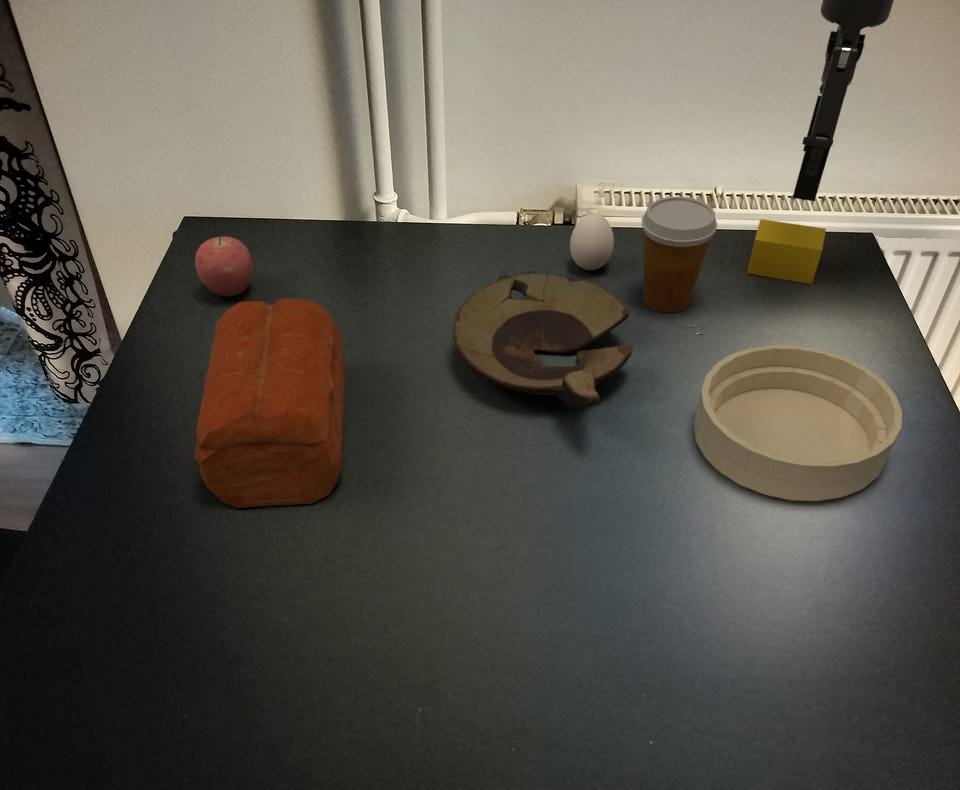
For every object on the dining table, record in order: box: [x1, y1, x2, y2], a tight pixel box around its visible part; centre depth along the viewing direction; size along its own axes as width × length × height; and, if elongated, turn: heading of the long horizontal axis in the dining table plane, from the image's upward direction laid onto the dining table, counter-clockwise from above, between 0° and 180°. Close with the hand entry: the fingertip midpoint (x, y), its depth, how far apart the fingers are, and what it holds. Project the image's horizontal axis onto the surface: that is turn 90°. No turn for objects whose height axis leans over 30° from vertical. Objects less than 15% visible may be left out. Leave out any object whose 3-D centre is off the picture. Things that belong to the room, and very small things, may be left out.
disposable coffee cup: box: [641, 196, 718, 313], centre depth 117 cm, size 10×10×12 cm
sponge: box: [746, 218, 827, 285], centre depth 124 cm, size 9×6×5 cm, turn 72°
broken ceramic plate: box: [451, 270, 634, 408], centre depth 108 cm, size 22×30×8 cm
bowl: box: [693, 344, 903, 502], centre depth 101 cm, size 22×22×6 cm
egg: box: [569, 212, 615, 271], centre depth 124 cm, size 6×6×8 cm
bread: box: [194, 298, 346, 509], centre depth 101 cm, size 16×27×11 cm, turn 4°
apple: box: [194, 236, 254, 298], centre depth 120 cm, size 7×7×8 cm
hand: (808, 174), depth 115 cm, fingers open, 13 cm apart
